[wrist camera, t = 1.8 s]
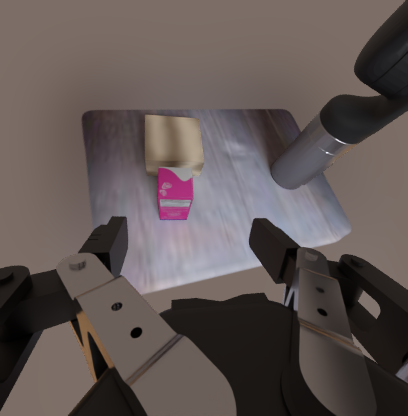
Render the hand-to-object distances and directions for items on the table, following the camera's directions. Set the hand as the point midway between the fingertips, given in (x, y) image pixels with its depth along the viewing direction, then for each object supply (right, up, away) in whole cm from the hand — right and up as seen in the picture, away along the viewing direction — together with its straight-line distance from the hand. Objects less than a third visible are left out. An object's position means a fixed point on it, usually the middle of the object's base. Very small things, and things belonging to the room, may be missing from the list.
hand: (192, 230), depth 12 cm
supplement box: (-6, +1, +29) cm, 30 cm away
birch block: (-7, +14, +34) cm, 38 cm away
